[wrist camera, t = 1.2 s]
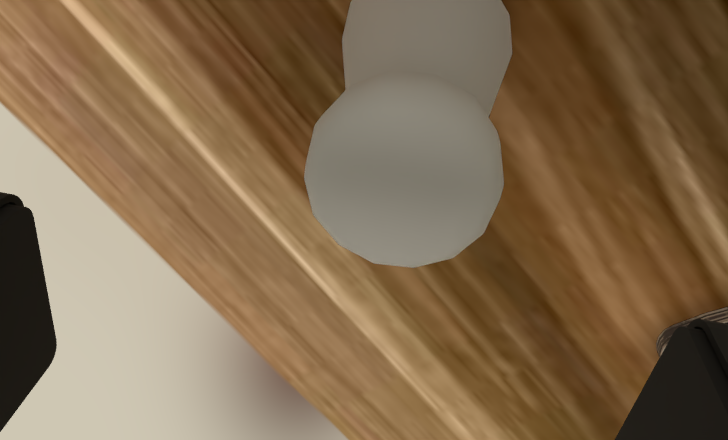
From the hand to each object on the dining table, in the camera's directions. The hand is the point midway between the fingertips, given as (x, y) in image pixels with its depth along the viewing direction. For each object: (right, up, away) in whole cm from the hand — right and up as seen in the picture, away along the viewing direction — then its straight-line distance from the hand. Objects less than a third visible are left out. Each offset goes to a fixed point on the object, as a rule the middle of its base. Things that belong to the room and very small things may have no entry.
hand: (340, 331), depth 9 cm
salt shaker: (+3, +9, +14) cm, 17 cm away
